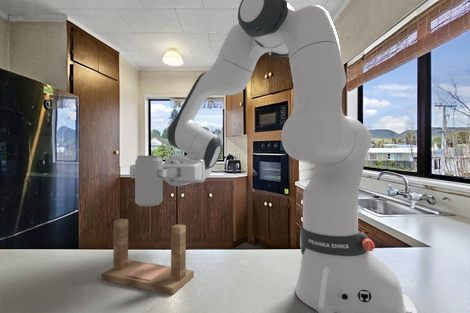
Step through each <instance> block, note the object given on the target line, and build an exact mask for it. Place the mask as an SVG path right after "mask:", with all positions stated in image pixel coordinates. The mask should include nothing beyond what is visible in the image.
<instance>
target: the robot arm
mask: <svg viewBox="0 0 470 313" xmlns="http://www.w3.org/2000/svg"><path fill="white" fill-rule="evenodd" d="M237 21H238V23H236V24H234V25H233V26H232V27H231V28H230V30H229V31H228V33H227V35H226V37H225V38H224V40H223V43H222V44H221V48H220V50H219V51H218V54H217V57H216V59H215V62H214V63H213V65H212V66H211V67H210V69H209V70H208V71H207V72H201V74H200V75H199V76H198V78H197V79H196V80H195V82H194V83H193V84H192V87H191V89H190V90H189V91H188V93H187V96H186V98H185V99H184V102H183V104H182V105H181V107H180V109H179V110H178V113H177V114H176V116H175V117H174V118H173V120H172V121H171V123H170V124H169V126H168V127H167V130H166V136H167V140H168V143H169V145H170V146H172V147H174V148H176V149H178V150H180V151H182V152H184V153H186V154H185V155H171V156H169V157H168V158H166V160H165V161H163V169H159V170H158V177H163V180H165V181H166V183H167V185H170V186H173V187H179V186H185V185H189V184H197V183H198V184H200V183H204V182H205V180H206V179H207V178H208V177H209V176H210V175H211V174H212V172H213V167H214V166H215V165H216V163H218V161H219V159H220V157H221V154H222V151H223V150H222V148H223V145H222V141H221V138H220V136H219V135H217V134H215V133H213V132H212V131H210V130H209V129H206V128H204V127H202V126H200V125H198V124H197V123H195V118H196V116H197V115H198V114H199V110H201V107H202V105H203V103H204V102H205V101H206V99H208V98H209V97H213V96H234V95H237V94H240V93H241V92H242V91H244V90H245V89H246V88H247V86H248V84H249V83H250V80H251V78H252V75H253V73H254V71H255V68H256V66H257V63H258V61H259V59H260V58H261V57H262V56H263V55H264V54H267V55H268V56H269V57H270V58H273V57H282V58H288V60H289V67H290V70H291V71H290V72H291V79H292V86H293V105H292V111H291V114H290V115H289V117H288V118H287V119H286V121H285V122H284V124H283V127H282V130H281V136H280V137H281V144H282V147H283V150H284V151H285V153H286V154H288V156H289V157H291V158H292V159H294V160H297V161H299V162H301V163H305V164H307V165H314V167H313V170H312V174H311V177H310V179H309V181H308V184H306V186H305V188H304V189H303V193H302V226H301V228H300V231H299V234H300V239H299V242H300V244H299V245H300V253H301V260H300V261H301V262H300V268H299V274H298V278H297V283H296V285H295V288H294V291H295V294H296V296H297V298H299V300H300V301H302V303H304V304H305V305H307V306H308V307H311V308H312V309H313V310H315V311H316V312H317V313H418V311H417V308H416V306H415V303H413V301H412V300H411V299H410V298H409V297H408V295H407V294H406V293H404V292H403V290H402V286H401V283H400V280H399V279H398V276H397V274H395V272H394V270H392V269H391V267H389V265H387V264H386V263H384V262H383V260H381V259H380V258H378V257H377V256H376V255H375V254H373V252H372V251H374V250H375V247H376V246H375V243H374V241H373V240H372V239H370V238H369V236H368V235H367V234H365V233H364V232H363V231H360V230H359V195H360V194H359V193H360V192H359V191H360V186H361V181H362V175H363V172H364V165H365V161H366V156H367V153H368V152H369V150H370V148H371V146H372V136H371V134H370V131H369V130H368V128H367V127H366V126H365V125H364V124H363V123H362V122H361V121H359V120H358V119H357V118H354V117H352V116H346V115H345V114H344V111H343V107H342V98H343V89H344V88H345V86H346V84H347V75H346V71H345V66H344V61H343V56H342V51H341V46H340V41H339V37H338V35H337V31H336V29H335V26H334V23H333V21H332V18H331V16H330V14H329V12H328V11H327V10H326V9H325V8H324V7H322V6H320V5H316V4H312V5H311V4H310V5H307V6H304V7H302V8H299V9H297V10H296V9H294V8H293V7H292V5H290V4H289V3H288V1H287V0H241V1H240V3H239V7H238V9H237ZM129 177H130V178H131V179H135V164H132V165H130V166H129Z"/></svg>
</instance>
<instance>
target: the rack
mask: <svg viewBox="0 0 470 313" xmlns="http://www.w3.org/2000/svg"><path fill="white" fill-rule="evenodd" d="M170 227H171V230H170V236H171V237H170V259H171V260H170V266H169V265H168V266H167V265H163V264H156V263H152V262H151V263H150V262H146V261H145V262H144V261H138V260H133V259H129V219H128V218H118V219H113V252H112V255H113V261H112V264H113V266H112V268H109V269H108V270H106V271H104V272H102V273H101V281H106V282H110V283H114V284H120V285H124V286H129V287H133V288H137V289H142V290H143V289H144V290H148V291H152V292H155V293H161V294H166V295H171V296H174V295H175V294H177V292H179V291H180V289H182V288H183V287H184V286H185V285H186V284H187V283H189V281H190V280H192V279H193V278H194V274H195V273H194V270H192V269H187V268H186V266H187V261H186V258H187V255H186V253H187V249H186V248H187V247H186V246H187V245H186V244H187V241H186V240H187V232H186V231H187V229H186V228H187V225H186V224H180V223H179V224H178V223H177V224H175V225H171V226H170Z"/></svg>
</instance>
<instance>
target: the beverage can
mask: <svg viewBox="0 0 470 313" xmlns="http://www.w3.org/2000/svg"><path fill="white" fill-rule="evenodd" d="M136 157H137V158H136V160H135V162H134V163H135V164H134V165H135V178H134V179H135V181H134V186H135V187H134V203H135V204H136V205H137V206H139V207H154V206H159V205H161V203H162V202H163V201H164V198H163V197H164V196H163V194H164V193H163V192H164V190H163V189H164V186H163V185H164V184H163V183H164V182H163V180H164V179H163V177H158V170H159V169H163V164H164V161H163V159H162V155H136Z"/></svg>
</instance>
